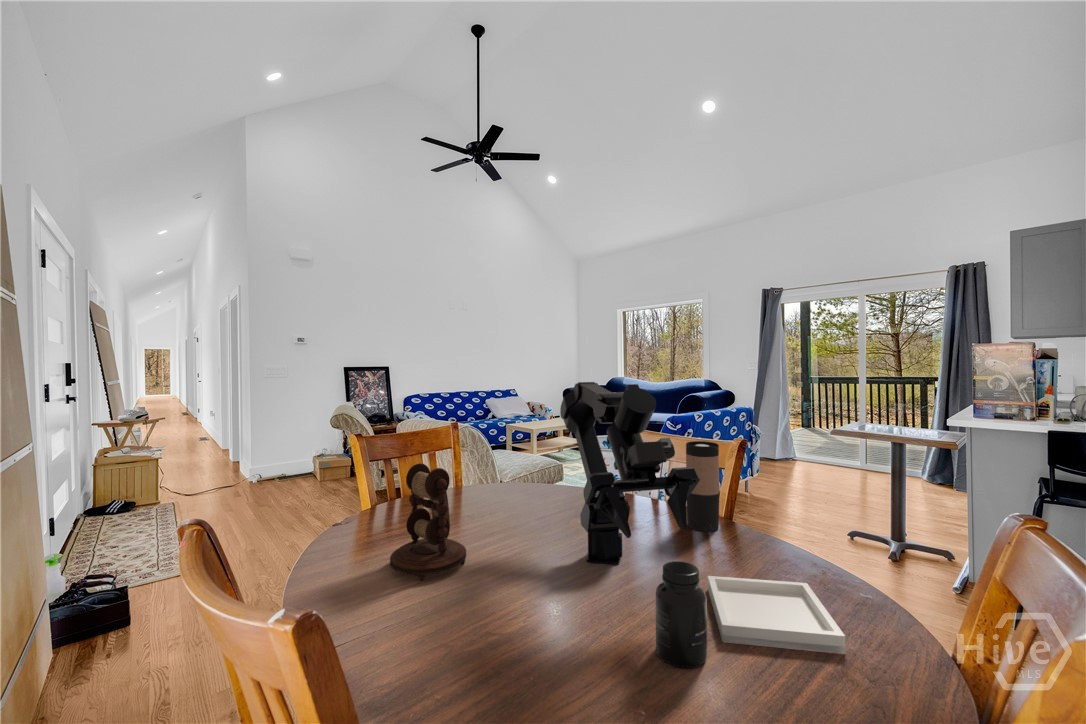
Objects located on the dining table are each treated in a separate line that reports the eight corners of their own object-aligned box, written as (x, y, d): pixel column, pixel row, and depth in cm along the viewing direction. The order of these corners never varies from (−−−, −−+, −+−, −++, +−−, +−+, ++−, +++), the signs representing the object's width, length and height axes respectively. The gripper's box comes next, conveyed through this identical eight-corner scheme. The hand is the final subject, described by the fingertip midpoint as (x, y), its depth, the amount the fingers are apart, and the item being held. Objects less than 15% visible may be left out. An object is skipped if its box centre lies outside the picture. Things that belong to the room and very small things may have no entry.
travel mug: (681, 522, 121) (680, 441, 121) (711, 520, 122) (710, 440, 121) (693, 533, 113) (692, 447, 113) (725, 531, 114) (724, 446, 114)
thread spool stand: (481, 564, 98) (479, 464, 97) (417, 590, 87) (415, 478, 87) (438, 545, 108) (436, 455, 108) (376, 567, 97) (374, 467, 97)
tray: (722, 642, 70) (722, 624, 70) (707, 589, 86) (707, 575, 86) (845, 654, 67) (845, 636, 67) (806, 597, 82) (806, 583, 82)
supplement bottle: (710, 673, 63) (709, 581, 63) (656, 667, 65) (655, 576, 65) (704, 642, 70) (703, 559, 70) (655, 637, 71) (654, 556, 71)
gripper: (587, 423, 78) (612, 512, 68) (693, 419, 82) (732, 502, 72) (574, 463, 86) (595, 548, 75) (672, 457, 90) (705, 537, 79)
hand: (657, 534), depth 75 cm, fingers open, 9 cm apart
